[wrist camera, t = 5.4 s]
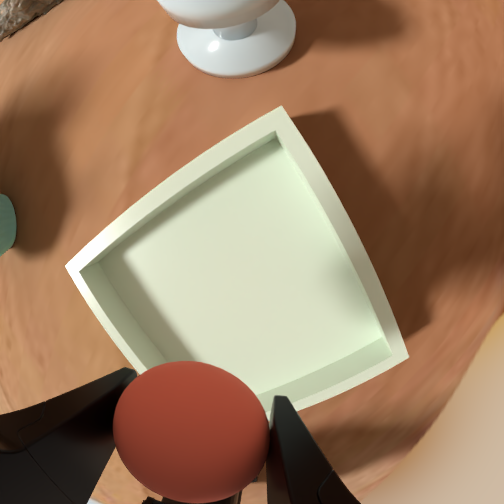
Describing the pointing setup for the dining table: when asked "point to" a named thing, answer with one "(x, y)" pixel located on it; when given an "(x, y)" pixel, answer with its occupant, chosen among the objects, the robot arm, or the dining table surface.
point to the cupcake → (6, 224)
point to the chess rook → (233, 34)
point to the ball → (191, 432)
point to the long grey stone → (21, 13)
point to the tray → (245, 273)
